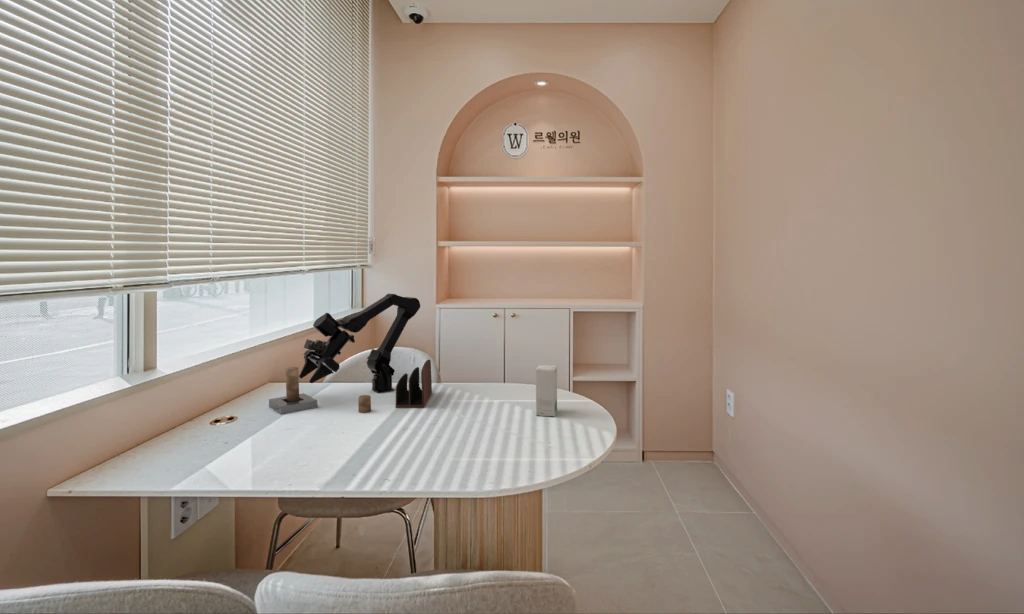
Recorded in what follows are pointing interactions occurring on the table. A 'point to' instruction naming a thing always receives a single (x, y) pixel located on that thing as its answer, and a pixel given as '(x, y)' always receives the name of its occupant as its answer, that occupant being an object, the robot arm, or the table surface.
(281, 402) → the hole collar
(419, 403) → the letter holder
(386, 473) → the table surface
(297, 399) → the tall pin
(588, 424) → the table surface
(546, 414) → the skincare box
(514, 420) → the table surface
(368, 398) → the stub pin
